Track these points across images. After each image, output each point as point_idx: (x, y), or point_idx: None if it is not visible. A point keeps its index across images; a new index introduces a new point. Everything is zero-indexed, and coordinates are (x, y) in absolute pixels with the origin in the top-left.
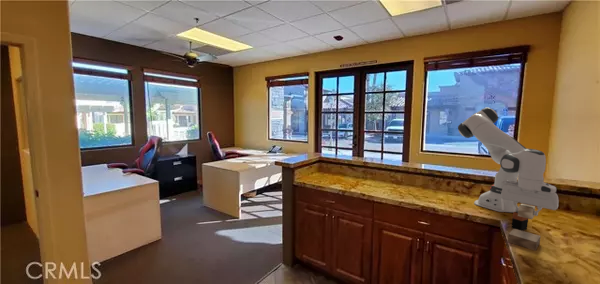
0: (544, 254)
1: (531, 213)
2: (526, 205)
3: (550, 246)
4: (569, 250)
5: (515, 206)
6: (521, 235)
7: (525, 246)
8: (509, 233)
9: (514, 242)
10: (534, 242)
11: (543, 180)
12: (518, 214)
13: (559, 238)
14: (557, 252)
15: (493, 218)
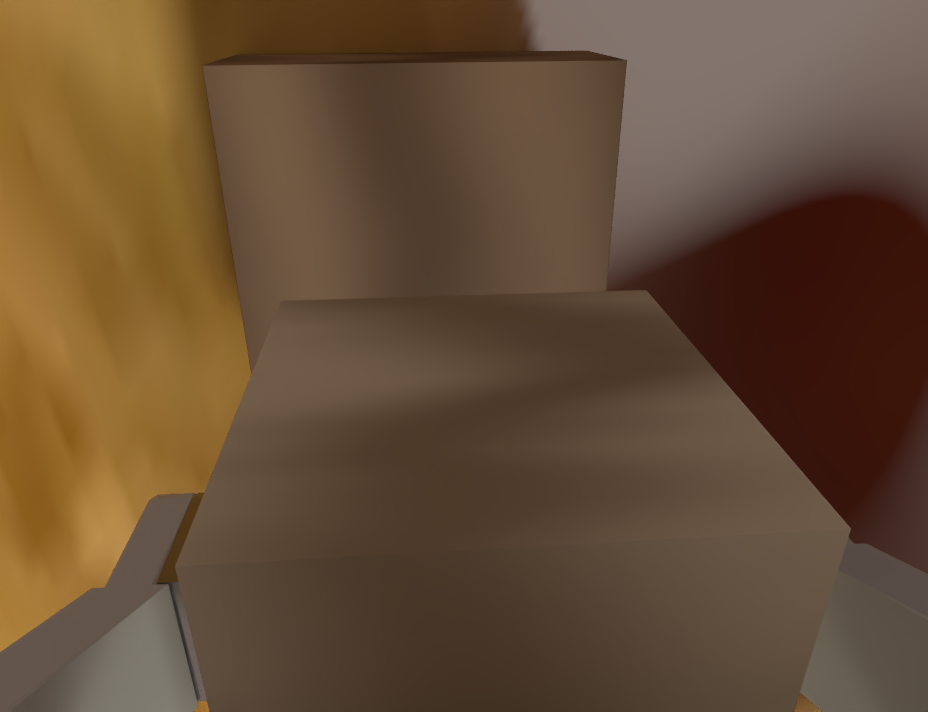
0: (117, 16)
1: (273, 396)
2: None
3: (178, 401)
4: (15, 459)
5: (884, 569)
6: (453, 192)
7: (362, 55)
8: (617, 105)
9: (506, 54)
10: (236, 64)
11: None
12: (649, 314)
13: None
14: (57, 268)
15: (798, 704)
